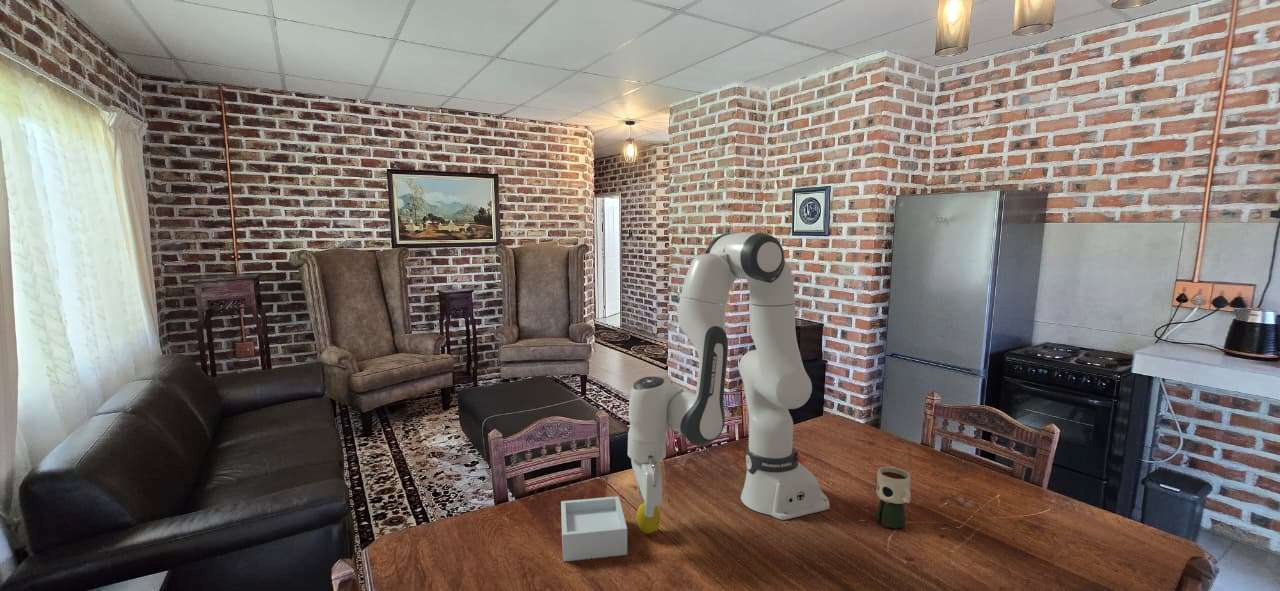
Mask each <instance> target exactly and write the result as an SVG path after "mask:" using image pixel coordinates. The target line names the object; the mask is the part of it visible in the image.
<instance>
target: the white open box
mask: <svg viewBox="0 0 1280 591" xmlns="http://www.w3.org/2000/svg"><path fill="white" fill-rule="evenodd" d="M560 511H561V512H560V514H561V515H560V516H561V518H560V519H561V541H562V543H561V544H562V561H563V562H564V563H565V562H572V561H583V560H590V559H591V558H592V559H599V558H609V556H610V557H619V556H626V555H628V526H627V522H626V519H625V515H624V511H623V506H622V504H621V499H620V496H619V495H618V496H617V495H615V496H605V497H604V496H603V497H594V498H584V499H583V498H582V499H573V500H571V499H570V500H560Z"/></svg>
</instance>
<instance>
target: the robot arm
mask: <svg viewBox="0 0 1280 591" xmlns="http://www.w3.org/2000/svg"><path fill="white" fill-rule="evenodd" d="M737 279H740V280H743V279H745V280H746V281H747V283H748V286H749V293H748V294H749V298H748V300H749V302H748V303H749V306H748V307H749V333H750V337H751V338H752V341H753V343H754V344H753V345H754V346H755V349H751V350H750V351H747V352H746V353H745V354H744V355H742V357H741V359H740V361H739V364H738V373H739V375H740V378H741V380H742V383H743V388H744V394H745V402H746V406H747V413H748V445H747V447H746V456H745V464H746V465H745V466H746V474H745V480H744V485H743V488H742V492H741V494H740V500H741V502H742V503H743V504H744V505H745V506H746V507H747V508H748V509H750V510H753V511H755V512H758V513H760V514H765V515H769V516H772V517H774V518H777V519H779V520H782V521H785V520H789V519H793V518H797V517H798V518H799V517H802V516H806V515H809V514H810V515H811V514H815V513H818V512H822V511H827V510H829V509H830V501H829V498H828V497H827V495H826V494H825V493H824V492H823V491H822V490H821V487H820V483H819V481H818V479H817V478H816V476H815V475H814V474H813V473H812V472H811V471H810V470H808V468H806V467H805V466H803V465H804V464H806V462H807V457H806V456H805V455H804V454H802V453H799V452H798V450H796V449H795V448H793V446H794V445H793V443H794V438H793V437H794V421H793V417H792V416H791V413H790V411H789V410H795V409H798V408H800V407H803V406H804V405H805V404H806V403H807V402H808V401H809V399H810V398H811V394H812V391H813V385H812V381H811V377H810V376H809V374H808V373H807V371H806V369H805V367H804V363H803V361H802V360H803V359H802V355H801V352H800V348H799V344H798V341H797V340H798V338H797V332H796V298H795V297H796V296H795V295H796V293H795V285H794V284H795V283H794V278H793V273H792V269H791V266H790V264H789V263H788V262H787V261H786V260H785V252H784V248H783V246H782V244H781V242H780V241H779V239H778V238H776V237H774V236H773V235H771V234H767V233H764V232H749V231H740V232H735V233H723V234H720V235H719V236H716V237H715V238H714V239H712V241H711V242H710V243H709V245H708V247H706V251H705V252H704V253H701V254H698V255H696V256H695V257H693V259H692V260H691V262H690V265H689V268H688V270H687V272H686V276H685V279H684V281H683V284H682V289H681V292H680V297H679V302H678V307H677V323H678V325H679V327H680V329H681V332H683V334H684V335H685V336H686V337H687V338H688V339H689V340H690V341H691V343H692V345H693V346H694V348H695V350H696V353H697V355H698V371H697V378H696V379H697V381H696V389H695V390H696V391H695V392H694V391H693V390H690V389H689V388H686V387H684V386H680V385H674V384H672V383H670V382H668V381H667V380H665V379H664V378H663V377H661V376H644V377H642V378H639V379H638V380H635V382H634V384H633V385H632V387H631V390H630V395H629V401H628V402H629V403H628V420H629V429H628V433H627V457H628V458H630V461H631V466H632V470H633V473H634V476H635V479H636V483H637V494H638V495H639V496H640V497H641V496H642V499H643V503H644V502H645V505H646V506H645V515H646V517H652V516H653V515H654V508H655V506H657V507H660V506H661V505H662V504H663V475H662V471H661V468H660V466H659V465H660V464H661V461H663V460H664V459H665V458H666V456H667V435H668V434H667V433H668V431H669V430H675V431H676V432H677V433H679V434H680V435H682V436H683V438H685V439H686V440H687V441H688V442H689V443H690V444H692V445H693V446H695V447H704V446H708V445H709V444H712V443H713V442H715V441H716V440H717V439H718V438H719V437H720V436H721V435H722V433H723V431H724V428H725V423H726V415H725V414H726V412H725V404H724V397H725V386H726V376H727V365H728V355H729V354H728V351H729V340H728V336H727V333H726V312H727V306H728V301H729V296H730V290H731V287H732V285H733V284H734V282H735V281H736V280H737ZM802 464H803V465H802Z"/></svg>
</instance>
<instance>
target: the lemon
mask: <svg viewBox="0 0 1280 591" xmlns="http://www.w3.org/2000/svg"><path fill="white" fill-rule="evenodd" d="M645 506H646V505H645V502H644V501H643V502H642V503H641V504H640V505H639V506H638V508H637V511H636V519H635V520H636V525H637V526H638V528H639V530H640V531H642V532H643V533H645V534H647V535H648V534H650V533H654V532H655V531H656V530H657V529H658V528H659V524H660V521H661V516H660V515H661V514H660V509H659V508H658V506H655V508H654V515H653V516H652V517H646V515H645Z"/></svg>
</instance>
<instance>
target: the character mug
mask: <svg viewBox="0 0 1280 591" xmlns="http://www.w3.org/2000/svg"><path fill="white" fill-rule="evenodd" d="M876 473H877V474H876V489H875V492H876V495H877V497H878V498H879V499H880V500H879V504H878V508H877V512H876V521H877V522H879V520H881V521H880V525H883V526H884V527H887V528H892V529H897V528H898V529H899V528H901V527H904V526H905V524H906V513H905V505H904V504H906V503H907V504H910V503H911V497H912V496H911V492H912V491H911V490H910V488H911V475H910V473H909V472H908V471H907V470H905V469H902V468H899V467H895V466H881V467H879V468H878V470H877V472H876Z"/></svg>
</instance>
